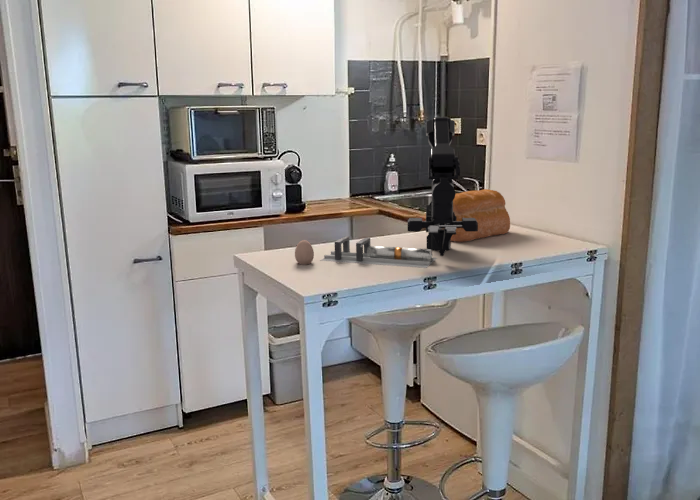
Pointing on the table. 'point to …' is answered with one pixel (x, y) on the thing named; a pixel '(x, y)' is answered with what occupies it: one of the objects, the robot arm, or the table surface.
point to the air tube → (399, 253)
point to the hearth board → (376, 260)
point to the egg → (304, 252)
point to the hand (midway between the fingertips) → (441, 255)
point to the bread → (481, 214)
